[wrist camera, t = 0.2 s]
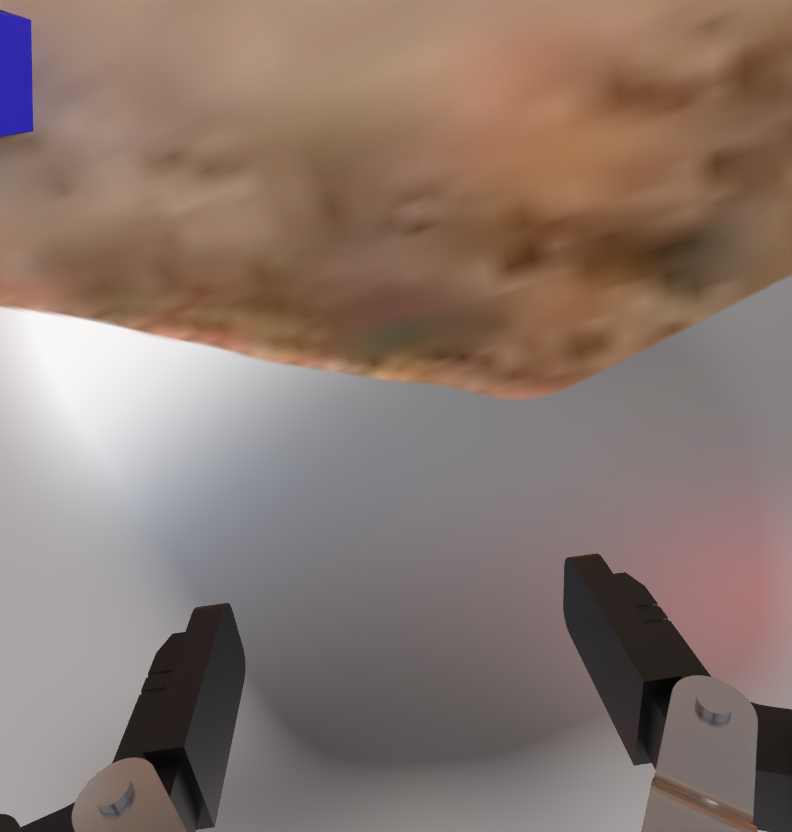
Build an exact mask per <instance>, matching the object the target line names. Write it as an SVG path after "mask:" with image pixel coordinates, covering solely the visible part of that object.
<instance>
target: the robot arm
mask: <svg viewBox="0 0 792 832" xmlns="http://www.w3.org/2000/svg"><path fill="white" fill-rule="evenodd" d="M563 610H564V617H565V621H566V625H567V629H568V631H569V634H570V636H571V638H572V640H573V642H574V644H575V646H576V648H577V650H578V652H579V654H580V656H581V658H582V660H583V662H584V665H585V667H586V668H587V670H588V673H589V675H590V677H591V679H592V681H593V683H594V685H595V687H596V689H597V691H598V693H599V695H600V697H601V699H602V701H603V703H604V705H605V707H606V709H607V711H608V713H609V716H610V718H611V720H612V722H613V724H614V726H615V728H616V730H617V732H618V734H619V736H620V738H621V740H622V742H623V744H624V746H625V748H626V750H627V752H628V754H629V756H630V758H631V760H632V762H633V764H634V765H640V764H647V763H652V764H653V765H654V768H655V770H656V772H655V776H654V778H653V780H652V784H651V788H650V793H649V798H648V802H647V807H646V812H645V817H644V822H643V826H642V831H641V832H757V830H763V831H767V832H792V710H790V709H783V708H777V707H770V706H764V705H758V704H755V703H752V702H750V701H749V700H748V699H747V698H746V697H745V696H744V695H743V694H742V693H741V692H740V691H739V690H737V689H736V688H734V687H733V686H731V685H730V684H728V683H726V682H724V681H721V680H719V679H716V678H713V677H711V676H710V674H709V673H708V672H707V670H706V669H705V668H704V666H703V665H702V664H701V662H700V661H699V660H698V658H697V657H696V655H695V654H694V653H693V651H692V650H691V649H690V647H689V646H688V645H687V643H686V642H685V640H684V639H683V638H682V636H681V635H680V634H679V632H678V631H677V629H676V628H675V627H674V625H673V624H672V623H671V621H668V617H667V616H666V615H665V613H664V612H663V611H662V609H661V608H660V607H658V605H657V602H656V601H655V600H654V598H653V597H652V595H651V594H650V593H649V591H648V590H647V588H646V587H645V586H644V585H642V584H641V583H639V582H638V581H637V580H635V579H634V578H633V577H631V576H630V575H628V574H627V573H625V572H624V573H617V574H613V573H612V571H611V570H610V569H609V567H608V565H607V564H606V562H605V561H604V560H603V558H602V557H601V556H600V555H599V554H590V555H583V556H575V557H568V558H566V560H565V566H564V599H563ZM244 678H245V655H244V650H243V646H242V642H241V639H240V635H239V632H238V629H237V625H236V622H235V618H234V615H233V611H232V608H231V606H230V604H229V603H224V604H216V605H209V606H202V607H196V608H195V609H194V610H193V613H192V615H191V618H190V621H189V624H188V627H187V629H186V632H183V633H175V634H172V635H171V636H170V637H169V639H168V640H167V641H166V642H165V643H164V645H163V646H162V647H161V648H160V649H159V650H158V652H157V653H156V655H155V658H154V660H153V663H152V666H151V668H150V670H149V673H148V678H146V680H145V683H144V685H143V688H142V690H141V691H142V693H141V695H139V698H138V700H137V703H136V705H135V708H134V710H133V713H132V715H131V718H130V720H129V723H128V726H127V728H126V730H125V733H124V735H123V738H122V740H121V743H120V745H119V748H118V750H117V753H116V755H115V758H114V760H113V762H112V764H110V765H109V766H107V767H105V768H104V769H103V770H101V771H100V772H98V773H97V774H96V775H95V776H94V777H93V778H92V779H91V780H90V781H89V782H88V783H87V784H86V785H85V787H84V788H83V789H82V791H81V792H80V794H79V796H78V798H77V800H76V802H74V803H72V804H71V805H69V806H67V807H65V808H63V809H61V810H59V811H56V812H54V813H52V814H50V815H47V816H45V817H43V818H41V819H39V820H36V821H34V822H32V823H30V824H27V825H25V826H23V827H20V826H19V824H18V823H17V821H16V820H15V819H14V818H13V817H11V816H9V815H6V814H0V832H196V830H198V829H204V828H211V827H215V822H216V818H217V813H218V808H219V802H220V798H221V793H222V787H223V783H224V778H225V773H226V768H227V763H228V758H229V753H230V748H231V743H232V738H233V733H234V728H235V724H236V718H237V714H238V709H239V704H240V699H241V694H242V688H243V684H244Z"/></svg>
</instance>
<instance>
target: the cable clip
mask: <svg viewBox="0 0 792 832" xmlns="http://www.w3.org/2000/svg"><path fill="white" fill-rule="evenodd" d="M30 131H33V104H32V51H31V20H29V19H26V18H23V17H20V16H17V15H14V14H11V13H8V12H5V11H2V10H0V136H5V135H11V134H18V133H24V132H30Z"/></svg>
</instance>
